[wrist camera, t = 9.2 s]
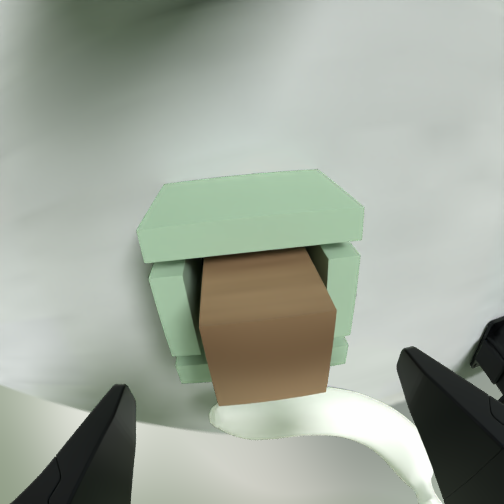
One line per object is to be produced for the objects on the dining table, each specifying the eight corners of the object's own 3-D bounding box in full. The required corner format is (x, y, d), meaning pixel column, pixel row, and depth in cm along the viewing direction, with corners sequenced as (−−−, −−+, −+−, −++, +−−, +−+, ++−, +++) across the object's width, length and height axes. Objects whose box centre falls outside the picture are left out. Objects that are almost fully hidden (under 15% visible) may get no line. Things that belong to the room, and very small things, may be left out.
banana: (213, 353, 21) (220, 563, 8) (412, 374, 26) (476, 499, 13) (198, 392, 23) (200, 568, 10) (385, 406, 28) (434, 524, 15)
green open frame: (317, 169, 16) (364, 207, 11) (315, 295, 20) (345, 363, 14) (164, 184, 16) (136, 230, 10) (188, 309, 19) (181, 383, 14)
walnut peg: (284, 270, 19) (326, 392, 11) (217, 278, 19) (218, 406, 11) (282, 206, 17) (336, 310, 9) (207, 214, 17) (198, 327, 9)
